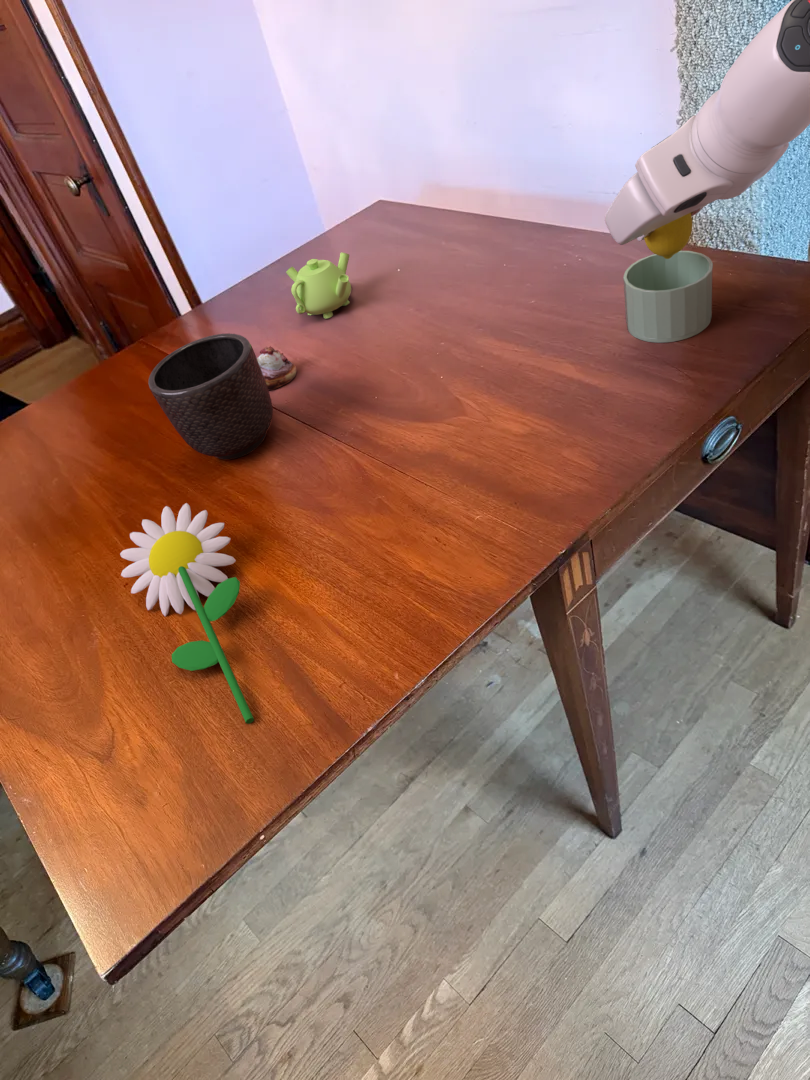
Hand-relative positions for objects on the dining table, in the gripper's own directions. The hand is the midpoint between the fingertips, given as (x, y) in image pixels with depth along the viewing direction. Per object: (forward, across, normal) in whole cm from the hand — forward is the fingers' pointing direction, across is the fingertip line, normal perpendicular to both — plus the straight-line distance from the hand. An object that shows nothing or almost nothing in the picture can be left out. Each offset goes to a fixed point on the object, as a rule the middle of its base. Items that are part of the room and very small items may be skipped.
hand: (663, 222), depth 89 cm
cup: (+9, 0, +10) cm, 13 cm away
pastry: (+31, +48, -13) cm, 59 cm away
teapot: (+42, +32, -24) cm, 58 cm away
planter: (+22, +56, -4) cm, 61 cm away
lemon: (+3, 0, +4) cm, 5 cm away
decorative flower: (0, +68, +18) cm, 70 cm away
